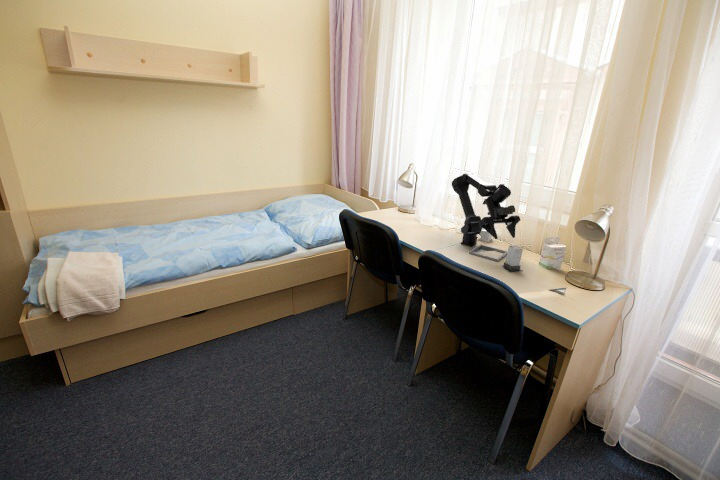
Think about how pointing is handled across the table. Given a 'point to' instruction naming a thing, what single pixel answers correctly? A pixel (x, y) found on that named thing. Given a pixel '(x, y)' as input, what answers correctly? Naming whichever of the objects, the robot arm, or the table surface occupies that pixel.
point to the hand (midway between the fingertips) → (505, 238)
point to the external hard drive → (559, 290)
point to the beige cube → (485, 236)
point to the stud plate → (511, 271)
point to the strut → (513, 258)
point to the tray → (486, 248)
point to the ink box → (552, 253)
